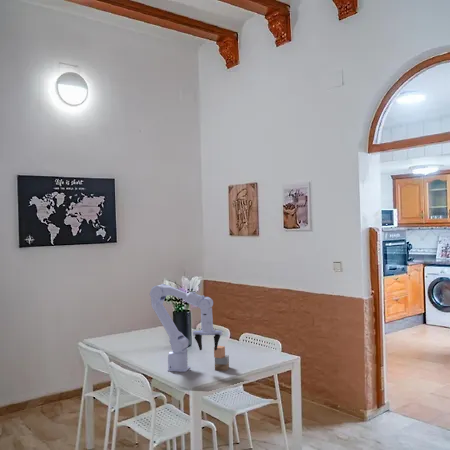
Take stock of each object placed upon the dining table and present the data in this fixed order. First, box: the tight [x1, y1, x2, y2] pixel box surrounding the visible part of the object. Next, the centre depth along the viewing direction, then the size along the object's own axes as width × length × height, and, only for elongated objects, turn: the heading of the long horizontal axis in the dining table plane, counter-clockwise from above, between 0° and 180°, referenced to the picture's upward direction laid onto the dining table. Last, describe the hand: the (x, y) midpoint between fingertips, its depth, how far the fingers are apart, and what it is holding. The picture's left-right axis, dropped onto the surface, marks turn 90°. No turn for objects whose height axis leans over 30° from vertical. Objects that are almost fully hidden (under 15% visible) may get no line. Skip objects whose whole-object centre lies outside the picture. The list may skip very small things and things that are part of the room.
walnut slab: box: [214, 361, 230, 372], centre depth 243 cm, size 6×6×3 cm
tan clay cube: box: [213, 345, 226, 359], centre depth 243 cm, size 4×4×5 cm
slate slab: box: [214, 354, 230, 365], centre depth 243 cm, size 6×6×3 cm
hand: (208, 349), depth 239 cm, fingers open, 7 cm apart
